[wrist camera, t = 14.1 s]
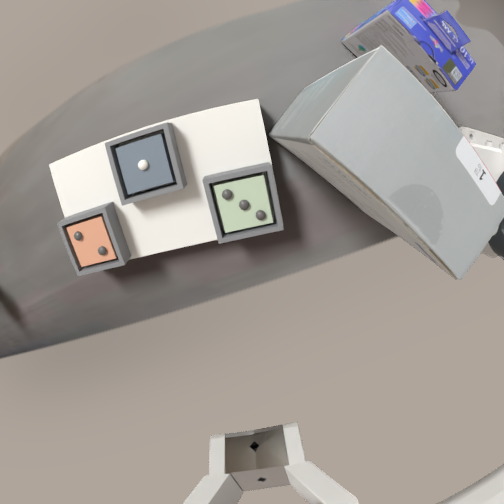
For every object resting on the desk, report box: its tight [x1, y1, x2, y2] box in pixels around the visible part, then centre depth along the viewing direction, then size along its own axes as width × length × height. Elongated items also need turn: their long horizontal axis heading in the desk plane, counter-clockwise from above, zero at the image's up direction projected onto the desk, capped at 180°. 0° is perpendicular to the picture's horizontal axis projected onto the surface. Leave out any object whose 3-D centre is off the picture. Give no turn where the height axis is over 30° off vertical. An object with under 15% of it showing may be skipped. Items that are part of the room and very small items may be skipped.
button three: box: [214, 172, 273, 233], centre depth 31 cm, size 5×5×2 cm
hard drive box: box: [269, 45, 504, 280], centre depth 25 cm, size 16×8×20 cm, turn 54°
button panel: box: [49, 99, 284, 276], centre depth 32 cm, size 25×14×6 cm, turn 102°
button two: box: [67, 213, 118, 267], centre depth 32 cm, size 5×5×2 cm
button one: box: [115, 133, 176, 195], centre depth 29 cm, size 5×5×2 cm
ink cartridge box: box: [341, 0, 476, 93], centre depth 22 cm, size 10×6×14 cm, turn 49°
